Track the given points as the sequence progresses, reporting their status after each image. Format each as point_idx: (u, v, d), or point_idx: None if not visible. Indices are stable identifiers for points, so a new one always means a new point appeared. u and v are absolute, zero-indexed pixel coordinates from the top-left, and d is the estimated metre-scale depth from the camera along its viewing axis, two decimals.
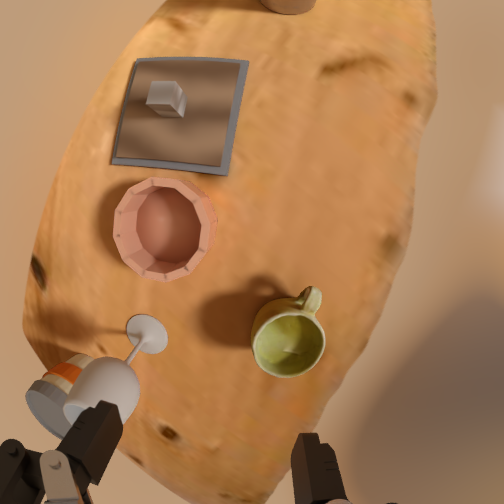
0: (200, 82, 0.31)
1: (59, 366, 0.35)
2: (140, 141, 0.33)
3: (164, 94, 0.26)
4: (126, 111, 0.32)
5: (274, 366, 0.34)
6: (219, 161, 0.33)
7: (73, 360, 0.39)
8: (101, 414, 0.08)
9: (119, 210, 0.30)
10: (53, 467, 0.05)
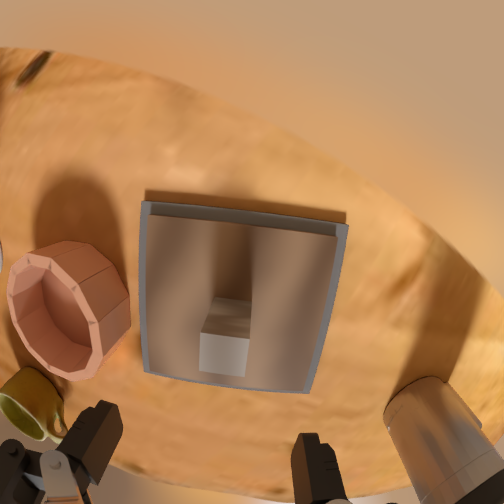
0: (273, 349, 0.23)
1: None
2: (172, 261, 0.21)
3: (218, 362, 0.16)
4: (230, 226, 0.21)
5: (5, 396, 0.21)
6: (155, 371, 0.24)
7: None
8: (101, 414, 0.08)
9: (52, 266, 0.17)
10: (53, 467, 0.05)
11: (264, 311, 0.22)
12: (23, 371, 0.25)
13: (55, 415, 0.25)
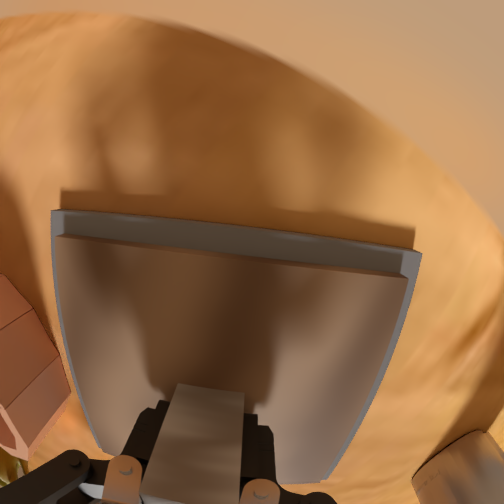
0: (280, 448, 0.12)
1: None
2: (99, 321, 0.10)
3: None
4: (197, 261, 0.10)
5: None
6: (110, 453, 0.13)
7: None
8: (164, 413, 0.09)
9: None
10: (126, 474, 0.06)
11: (266, 405, 0.11)
12: None
13: (17, 464, 0.14)
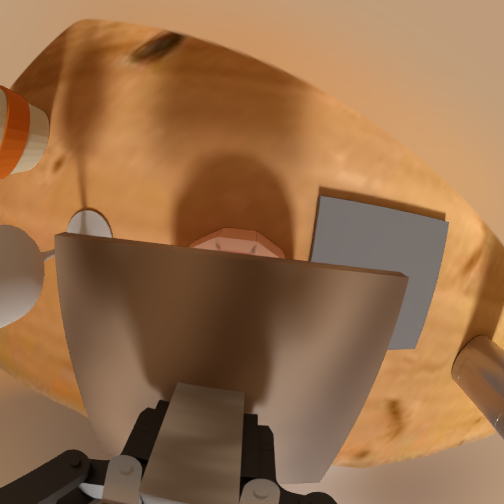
0: (280, 447, 0.12)
1: (21, 112, 0.18)
2: (99, 320, 0.10)
3: None
4: (197, 260, 0.10)
5: None
6: (110, 453, 0.13)
7: (36, 124, 0.22)
8: (164, 413, 0.09)
9: (256, 249, 0.22)
10: (126, 473, 0.06)
11: (266, 405, 0.11)
12: None
13: None
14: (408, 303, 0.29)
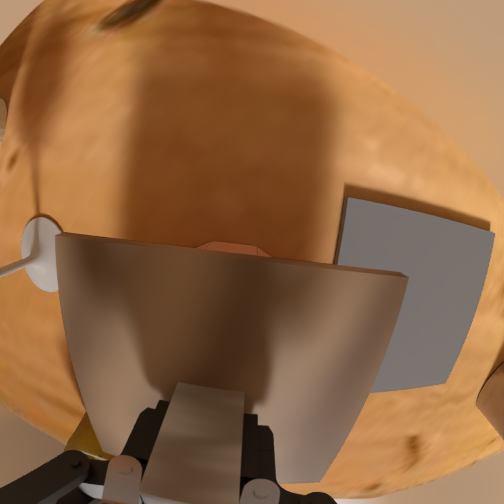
0: (280, 447, 0.12)
1: None
2: (99, 320, 0.10)
3: None
4: (198, 260, 0.10)
5: None
6: (110, 453, 0.13)
7: None
8: (164, 413, 0.09)
9: None
10: (126, 473, 0.06)
11: (266, 405, 0.11)
12: None
13: None
14: (445, 334, 0.21)
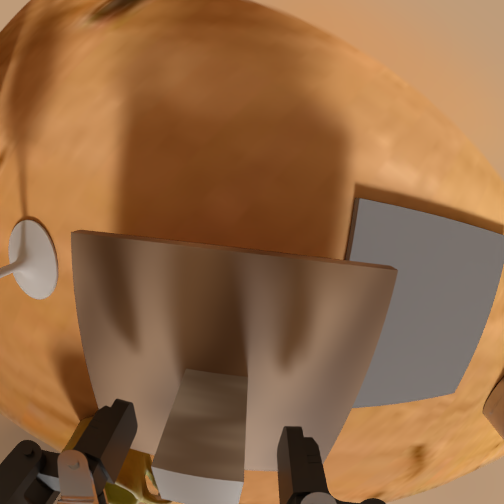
0: (281, 433, 0.13)
1: None
2: (113, 311, 0.12)
3: (190, 497, 0.07)
4: (206, 254, 0.11)
5: None
6: None
7: None
8: (118, 412, 0.09)
9: None
10: (72, 467, 0.05)
11: (268, 389, 0.12)
12: None
13: (145, 473, 0.20)
14: (456, 343, 0.19)
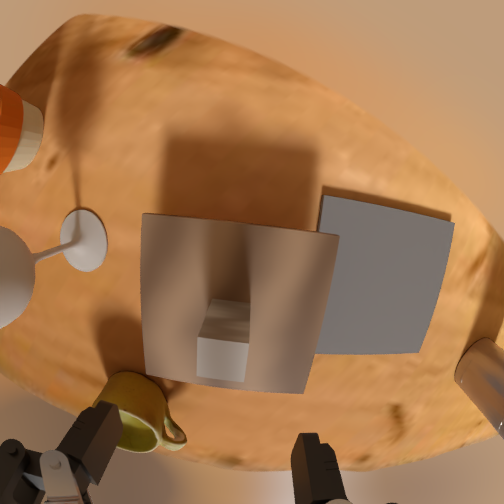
0: (273, 351, 0.22)
1: (14, 109, 0.17)
2: (167, 262, 0.20)
3: (216, 368, 0.16)
4: (228, 225, 0.20)
5: None
6: (152, 374, 0.23)
7: (30, 121, 0.21)
8: (101, 414, 0.08)
9: None
10: (53, 467, 0.05)
11: (263, 313, 0.21)
12: (123, 377, 0.28)
13: (164, 420, 0.29)
14: (413, 306, 0.28)
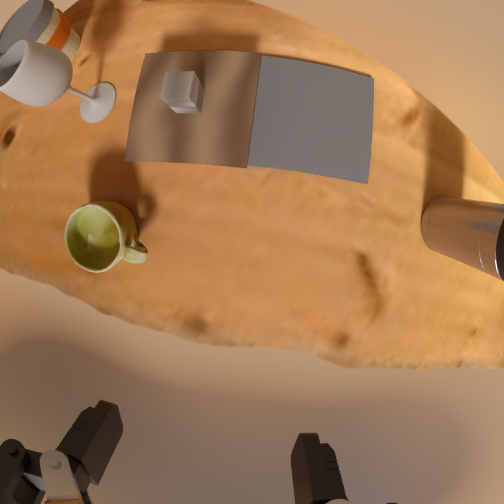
0: (219, 124, 0.29)
1: (67, 23, 0.24)
2: (156, 74, 0.27)
3: (173, 89, 0.22)
4: (194, 51, 0.26)
5: (74, 227, 0.32)
6: (129, 159, 0.29)
7: (73, 35, 0.28)
8: (101, 414, 0.08)
9: None
10: (53, 467, 0.05)
11: (212, 96, 0.28)
12: None
13: (131, 242, 0.35)
14: (348, 134, 0.34)
